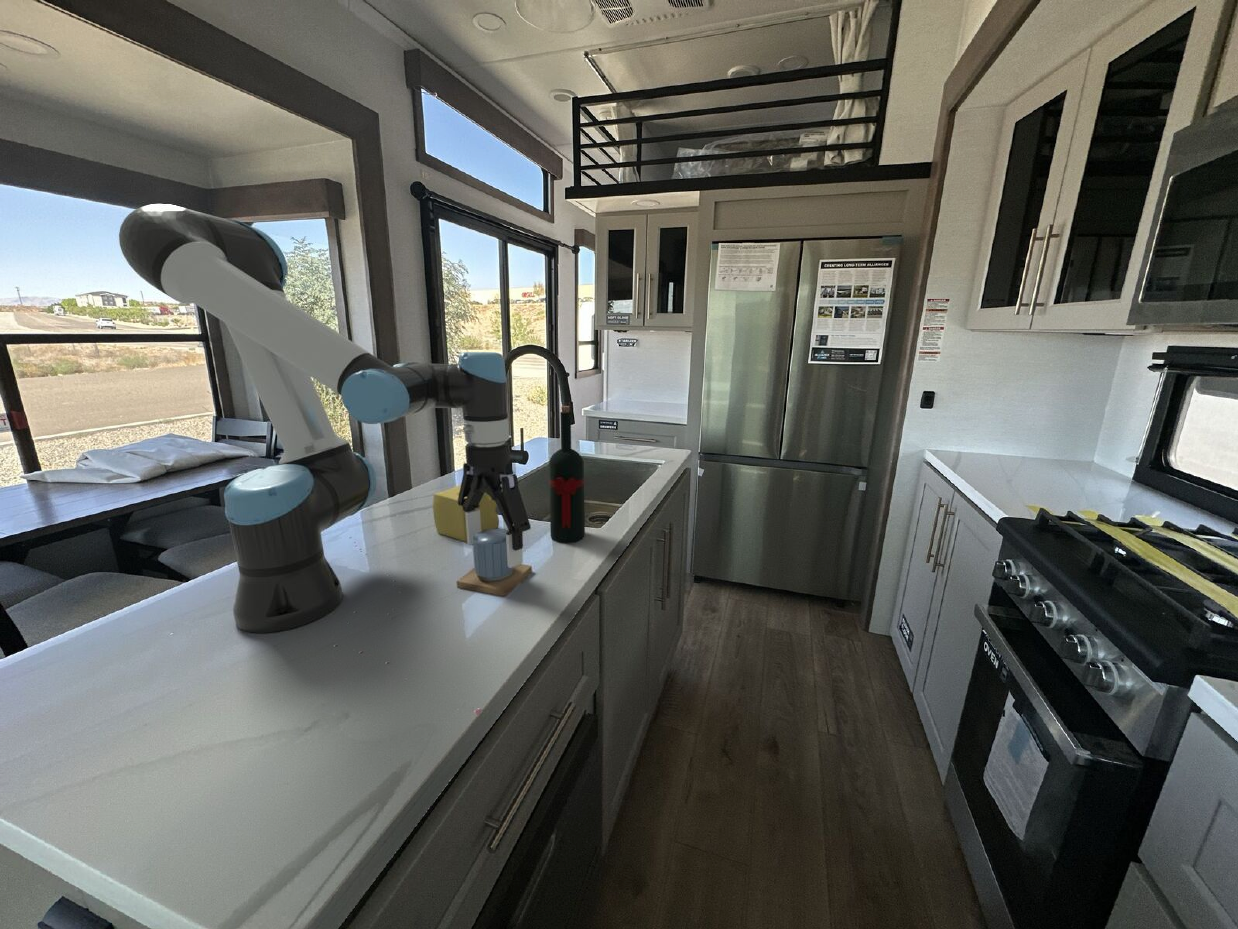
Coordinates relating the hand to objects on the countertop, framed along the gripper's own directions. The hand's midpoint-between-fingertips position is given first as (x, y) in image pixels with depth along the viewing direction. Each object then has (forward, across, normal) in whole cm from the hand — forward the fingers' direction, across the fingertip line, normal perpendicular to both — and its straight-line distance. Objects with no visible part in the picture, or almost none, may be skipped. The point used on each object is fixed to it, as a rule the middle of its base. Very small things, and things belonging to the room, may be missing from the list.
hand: (494, 553), depth 91 cm
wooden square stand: (+5, 0, 0) cm, 5 cm away
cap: (+3, 0, 0) cm, 3 cm away
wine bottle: (+6, -5, +22) cm, 23 cm away
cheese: (+6, -25, +8) cm, 27 cm away
